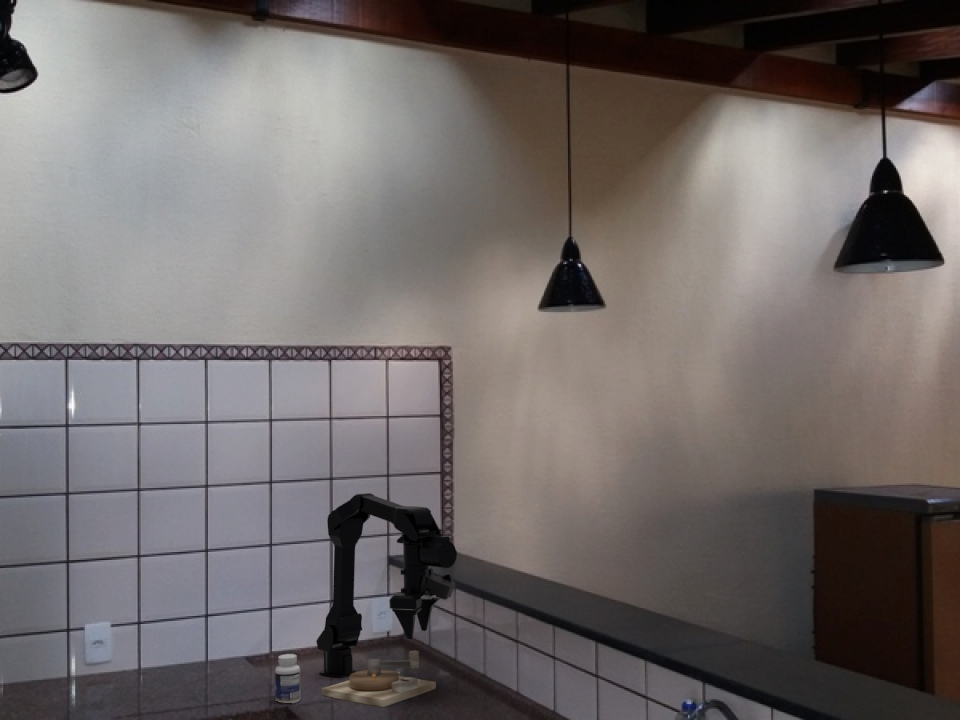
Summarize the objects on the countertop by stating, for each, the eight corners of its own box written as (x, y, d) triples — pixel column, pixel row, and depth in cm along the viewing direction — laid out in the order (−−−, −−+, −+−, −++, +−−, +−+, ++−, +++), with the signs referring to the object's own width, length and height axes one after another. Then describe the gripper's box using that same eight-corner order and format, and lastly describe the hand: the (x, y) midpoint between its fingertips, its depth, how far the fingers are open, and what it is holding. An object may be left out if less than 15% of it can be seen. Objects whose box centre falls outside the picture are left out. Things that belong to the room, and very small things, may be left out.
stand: (322, 695, 236) (322, 678, 236) (376, 678, 250) (375, 662, 250) (383, 707, 225) (382, 689, 225) (435, 688, 240) (435, 672, 240)
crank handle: (350, 678, 243) (350, 649, 243) (418, 676, 244) (418, 647, 244) (348, 691, 232) (347, 660, 232) (419, 688, 233) (419, 657, 233)
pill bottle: (276, 698, 234) (276, 653, 234) (301, 697, 234) (301, 652, 235) (274, 705, 228) (273, 659, 229) (299, 704, 229) (298, 658, 229)
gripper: (436, 571, 226) (437, 645, 225) (463, 559, 244) (464, 628, 243) (388, 569, 229) (389, 643, 228) (417, 558, 247) (418, 626, 246)
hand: (417, 634), depth 236 cm, fingers open, 9 cm apart
